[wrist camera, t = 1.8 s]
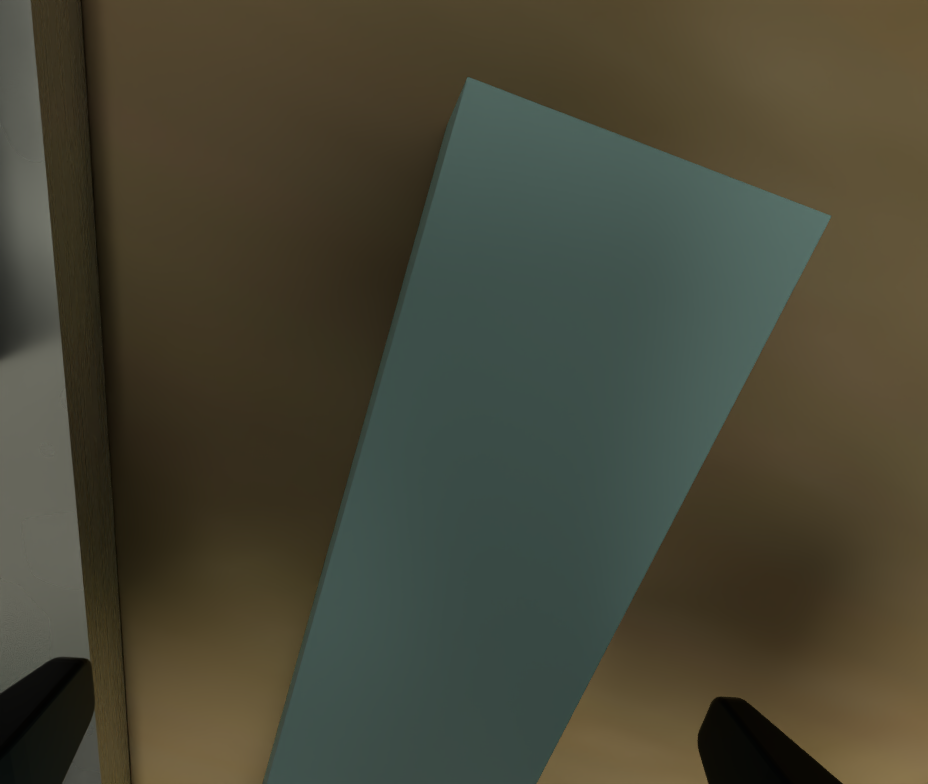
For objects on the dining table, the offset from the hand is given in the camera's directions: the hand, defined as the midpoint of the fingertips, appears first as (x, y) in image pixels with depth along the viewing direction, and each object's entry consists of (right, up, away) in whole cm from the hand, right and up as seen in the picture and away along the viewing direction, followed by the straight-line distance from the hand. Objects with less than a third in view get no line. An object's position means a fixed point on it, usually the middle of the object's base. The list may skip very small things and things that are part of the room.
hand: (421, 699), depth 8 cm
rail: (0, +1, +3) cm, 3 cm away
